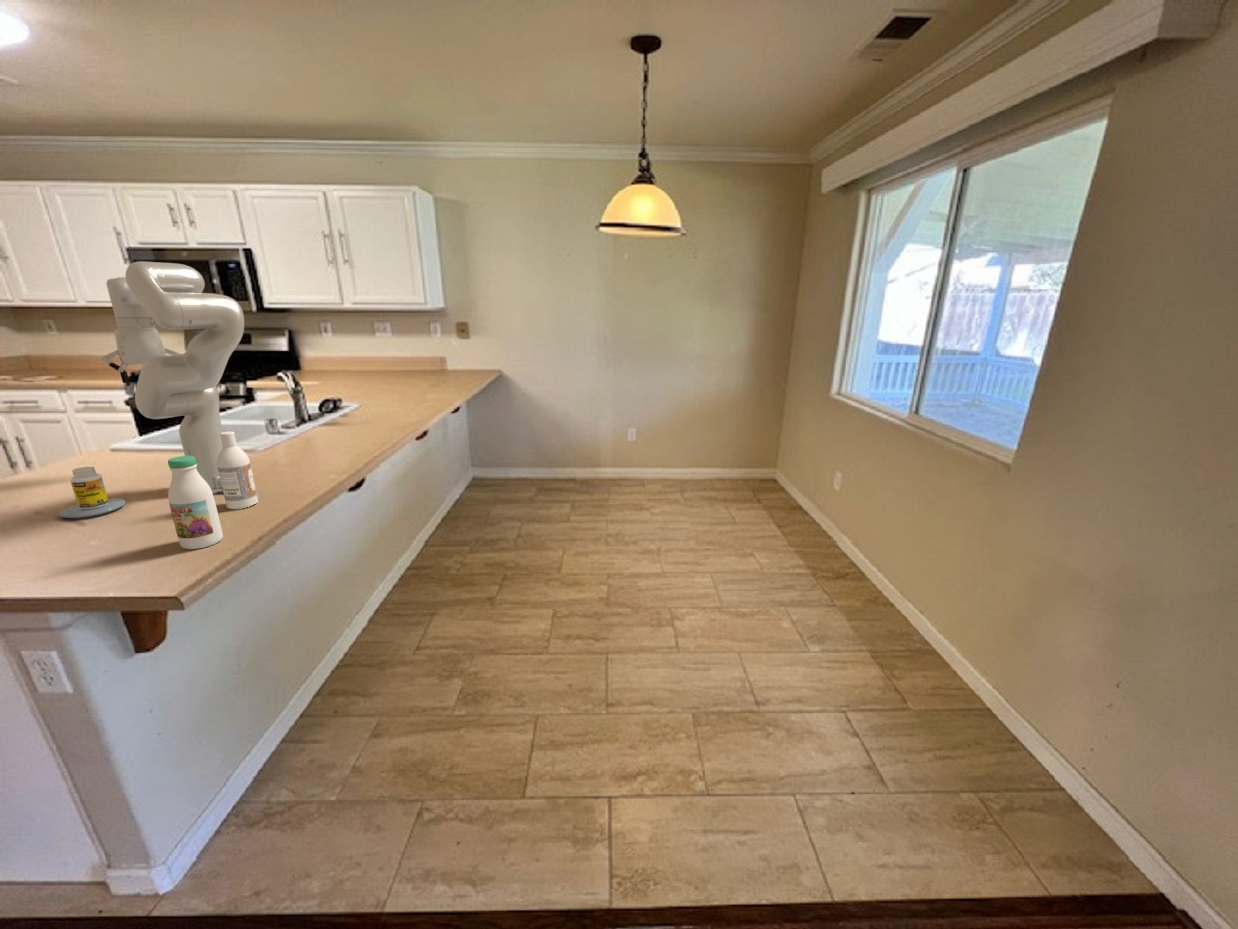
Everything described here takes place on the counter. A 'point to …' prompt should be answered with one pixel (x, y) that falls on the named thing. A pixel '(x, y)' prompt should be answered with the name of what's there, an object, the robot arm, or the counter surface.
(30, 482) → the counter surface
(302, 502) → the counter surface
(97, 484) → the supplement bottle
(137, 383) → the robot arm
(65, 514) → the dish
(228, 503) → the bath foam
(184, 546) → the milk bottle
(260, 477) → the counter surface
